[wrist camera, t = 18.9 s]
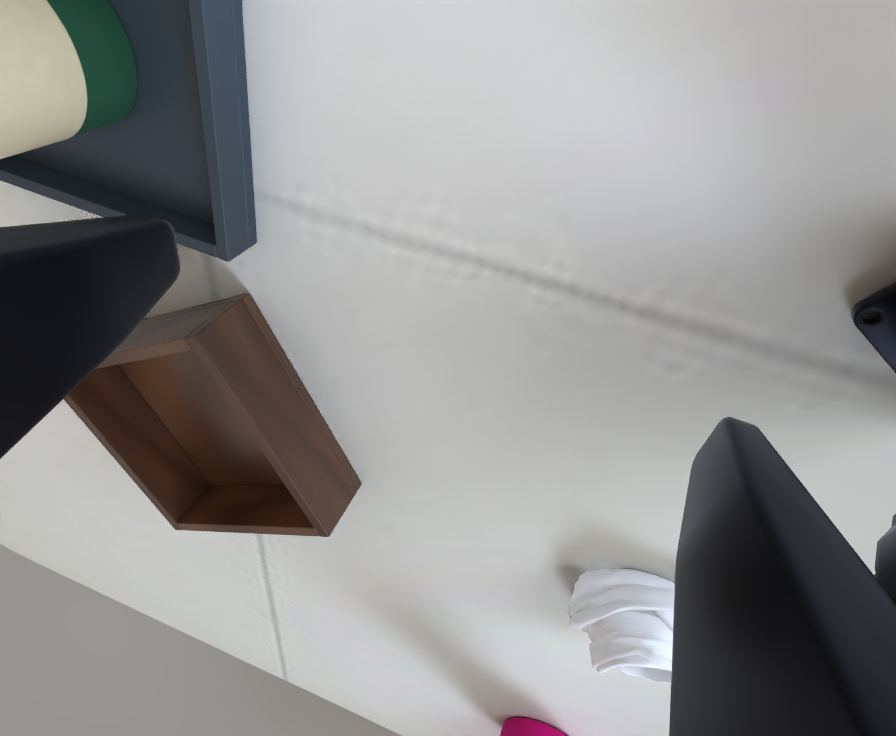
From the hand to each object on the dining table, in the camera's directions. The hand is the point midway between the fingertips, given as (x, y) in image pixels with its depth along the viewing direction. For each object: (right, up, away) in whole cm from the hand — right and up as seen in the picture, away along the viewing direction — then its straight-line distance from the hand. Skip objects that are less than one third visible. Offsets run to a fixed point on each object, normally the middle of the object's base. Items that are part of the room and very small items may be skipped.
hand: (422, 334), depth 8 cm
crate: (-13, -3, +25) cm, 29 cm away
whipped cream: (+12, -14, +23) cm, 29 cm away
